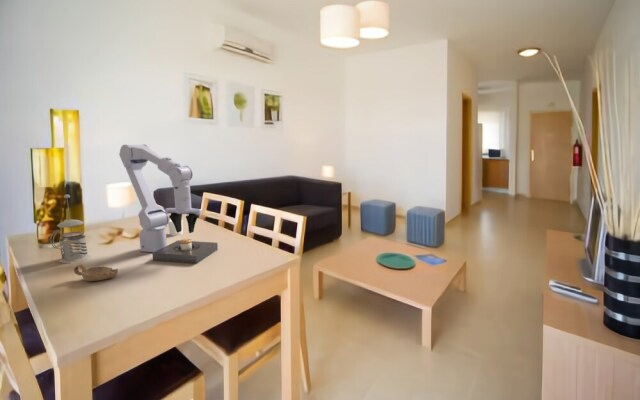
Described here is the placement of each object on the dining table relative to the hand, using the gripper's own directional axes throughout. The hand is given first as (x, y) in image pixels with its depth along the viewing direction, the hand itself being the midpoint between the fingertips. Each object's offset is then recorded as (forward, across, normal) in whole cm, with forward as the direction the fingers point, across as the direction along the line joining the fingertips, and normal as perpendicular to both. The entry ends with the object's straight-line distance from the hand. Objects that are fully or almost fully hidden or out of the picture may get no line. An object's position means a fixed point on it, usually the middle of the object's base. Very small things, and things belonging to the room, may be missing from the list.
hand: (185, 232), depth 124 cm
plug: (+9, 0, 0) cm, 9 cm away
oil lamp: (+10, -16, -26) cm, 32 cm away
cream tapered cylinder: (+10, -22, +26) cm, 35 cm away
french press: (+10, -40, -12) cm, 43 cm away
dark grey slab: (+9, 0, 0) cm, 9 cm away
